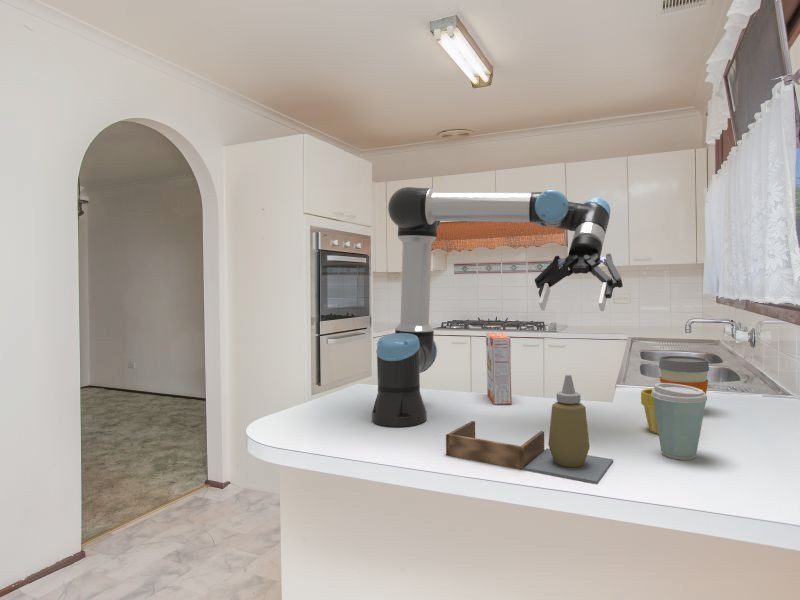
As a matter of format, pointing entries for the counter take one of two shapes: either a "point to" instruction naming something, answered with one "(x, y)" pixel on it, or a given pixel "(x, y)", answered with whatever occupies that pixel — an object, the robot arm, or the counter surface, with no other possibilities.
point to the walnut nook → (492, 448)
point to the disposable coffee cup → (679, 418)
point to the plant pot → (649, 409)
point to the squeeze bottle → (568, 428)
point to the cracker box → (498, 368)
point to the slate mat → (586, 472)
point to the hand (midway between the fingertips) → (570, 307)
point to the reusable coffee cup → (684, 371)
